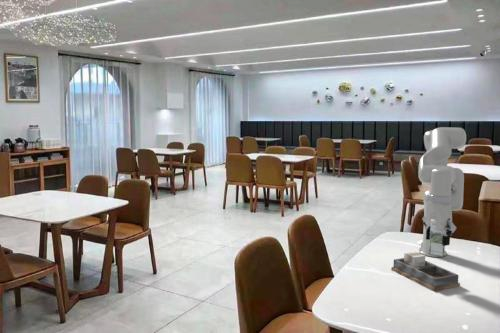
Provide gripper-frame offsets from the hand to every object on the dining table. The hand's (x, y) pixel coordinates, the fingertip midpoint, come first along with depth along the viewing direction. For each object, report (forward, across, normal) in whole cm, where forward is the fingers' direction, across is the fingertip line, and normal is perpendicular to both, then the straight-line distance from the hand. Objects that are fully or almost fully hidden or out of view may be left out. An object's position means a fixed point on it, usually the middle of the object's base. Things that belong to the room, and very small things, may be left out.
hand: (437, 241), depth 179 cm
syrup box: (+5, 0, 0) cm, 5 cm away
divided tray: (+17, -6, 0) cm, 18 cm away
